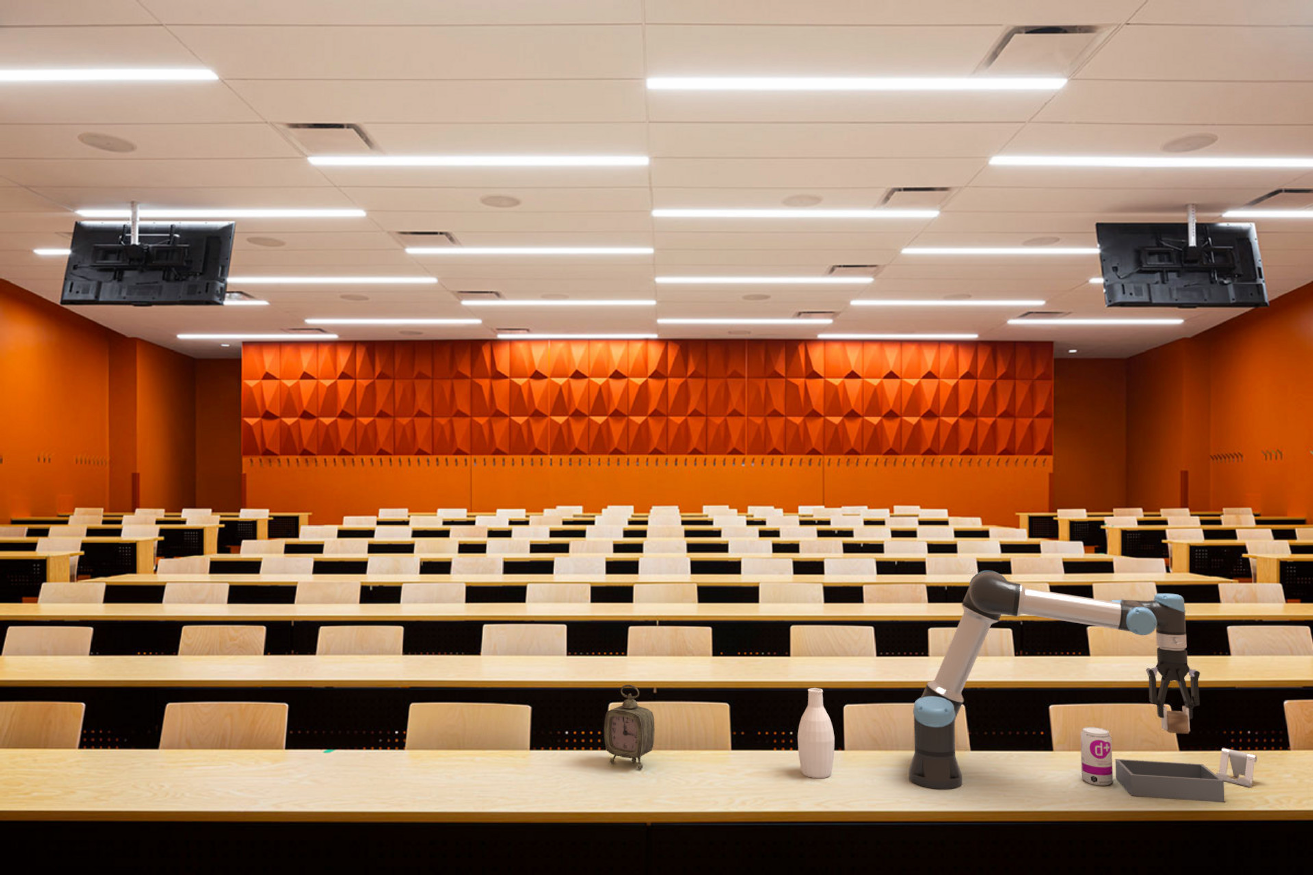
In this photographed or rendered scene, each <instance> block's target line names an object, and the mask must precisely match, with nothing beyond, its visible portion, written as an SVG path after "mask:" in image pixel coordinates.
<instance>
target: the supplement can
mask: <svg viewBox="0 0 1313 875" xmlns="http://www.w3.org/2000/svg"><path fill="white" fill-rule="evenodd" d="M1112 744H1113V743H1112V736H1111V734H1110V731H1109V730H1107V729H1105V728H1101V727H1094V726H1093V727H1092V726H1085V727H1083V728H1082V730H1081V732H1080V757H1081V759H1080V761H1081V762H1080V763H1081V764H1080V765H1081V778H1082V779H1083V780H1084V781H1085V783H1087V784H1091V785H1094V786H1110V785H1111V784H1112V783H1113V782H1114V779H1113V750H1112V748H1113V747H1112Z"/></svg>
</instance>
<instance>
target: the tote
mask: <svg viewBox="0 0 1313 875" xmlns="http://www.w3.org/2000/svg"><path fill="white" fill-rule="evenodd" d="M1114 760H1115V761H1114V762H1115V779H1116V780H1117V781H1118V782H1119V784H1120V785H1121V786H1122V787H1123V789H1125V790H1126V792H1128V793H1129V795H1130V796H1131V797H1144V798H1159V799H1174V800H1175V799H1176V800H1185V801H1187V800H1189V801H1203V802H1217V803H1218V802H1220V803H1225V781H1223V780H1222V779H1221V778H1219V777H1218V776H1217V775H1216V773H1215V772H1214V771H1212V770H1211V769H1209V768H1208V766H1207V767H1206V765H1204V764H1202V763H1192V762H1191V763H1189V762H1187V763H1186V762H1173V761H1170V762H1169V761H1157V760H1156V761H1154V760H1140V759H1139V760H1136V759H1123V758H1122V759H1120V758H1115V759H1114Z"/></svg>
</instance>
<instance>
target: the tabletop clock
mask: <svg viewBox="0 0 1313 875" xmlns="http://www.w3.org/2000/svg"><path fill="white" fill-rule="evenodd" d="M625 688H633V689H635V690H636V691H637V694H636V695H634V696H632V693H628V695H627V694H625V693H623V690H624V689H625ZM620 694H621V695H622V696H623V697H624V698H626V699H625V700H624V701H623V702H622V704H621V705H620V706H616V707H615V708H612V709H610V710H607V711H606V713H605V715H604V722H603V738H604V746H605V749H606V752H608V753H609V754H611V755H613V756H612V757H611V758H610V759H609V763H610V765H611V764H612V765H613V764H614V763H615V759H616V757H620V758H625V759H631V763H632V764H633V763H634V764H636V762H638V764H637V769H638V770H642V769H643V764H642V763H641V758H642V757H643V756H644V755H646V754H649V753H650V752H652V751H653V748H654V743H655V730H656V729H655V728H656V727H655V718H654V712H653V711H652V710H650V709H649V708H646V707H643V706H640V705H639V704H638V701H636V700H635V699H637V698H638V697H639V696H640V691H639V689H638V688H637V686H635V685H633V684H625V685H622V687H621V689H620ZM638 705H639V706H638Z"/></svg>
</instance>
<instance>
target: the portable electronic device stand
mask: <svg viewBox="0 0 1313 875" xmlns="http://www.w3.org/2000/svg"><path fill="white" fill-rule="evenodd" d="M1229 761H1230V766H1231V771H1232V774H1233V777H1234V778H1232V777H1229V774H1228V765H1229ZM1257 762H1258V755H1256V754H1252V753H1247V752H1244V751H1238V750H1235V749H1230V748H1225V747H1222V748H1221V754H1220V760H1219V771H1217V772H1215V774H1216V775H1217V776H1218V777H1219V778H1221V779H1222V780H1223V781H1224V782H1227V783H1231V784H1235V785H1238V786H1244V787H1245V788H1252V786H1253V779H1254V778H1253V777H1254V769H1255V763H1257ZM1240 776H1244V778H1243V777H1240ZM1236 778H1237V779H1236Z"/></svg>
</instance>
